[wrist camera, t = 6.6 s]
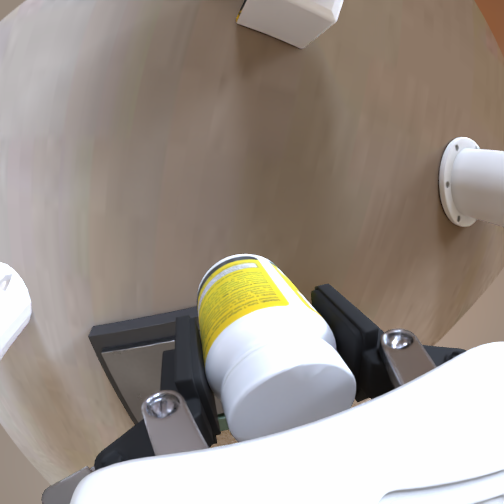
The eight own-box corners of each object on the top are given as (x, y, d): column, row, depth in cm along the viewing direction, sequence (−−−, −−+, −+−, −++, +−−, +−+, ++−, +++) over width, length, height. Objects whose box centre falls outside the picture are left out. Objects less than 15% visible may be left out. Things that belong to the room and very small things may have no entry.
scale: (235, 297, 28) (242, 311, 25) (257, 406, 33) (263, 423, 30) (92, 326, 25) (85, 342, 23) (144, 427, 30) (144, 444, 28)
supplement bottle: (184, 320, 15) (190, 451, 7) (216, 238, 14) (252, 330, 6) (265, 341, 16) (320, 457, 8) (300, 269, 15) (395, 360, 8)
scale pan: (232, 323, 26) (233, 327, 26) (249, 402, 30) (251, 406, 29) (102, 348, 24) (100, 352, 23) (140, 421, 28) (140, 426, 27)
